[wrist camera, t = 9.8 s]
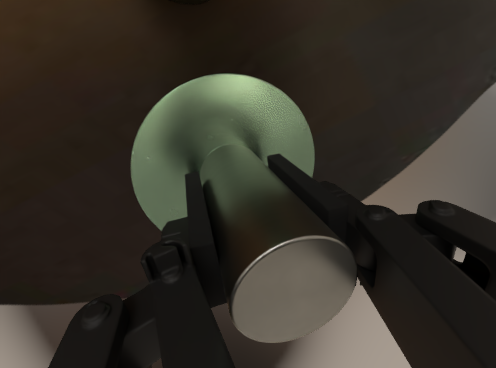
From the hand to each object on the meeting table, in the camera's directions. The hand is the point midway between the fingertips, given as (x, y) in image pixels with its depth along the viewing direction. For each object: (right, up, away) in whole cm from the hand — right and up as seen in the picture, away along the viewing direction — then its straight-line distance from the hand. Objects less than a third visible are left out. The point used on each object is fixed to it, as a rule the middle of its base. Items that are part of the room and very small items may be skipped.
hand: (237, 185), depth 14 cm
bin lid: (-1, +1, +2) cm, 3 cm away
